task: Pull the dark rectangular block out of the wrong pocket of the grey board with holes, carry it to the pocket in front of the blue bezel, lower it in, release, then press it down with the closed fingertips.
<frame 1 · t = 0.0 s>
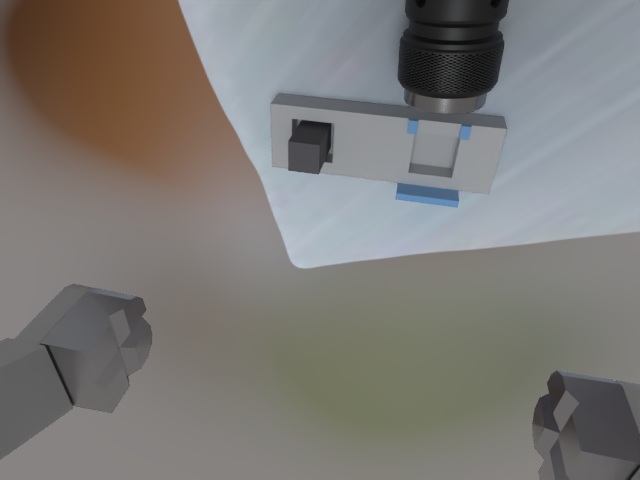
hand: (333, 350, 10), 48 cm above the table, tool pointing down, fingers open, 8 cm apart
dark rectangular block: (317, 132, 58), point 1 cm above the table, touching grey board with holes
grey board with holes: (383, 137, 58), on the table
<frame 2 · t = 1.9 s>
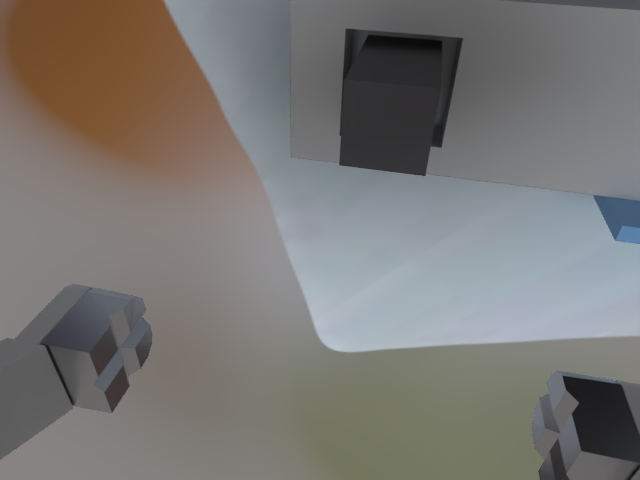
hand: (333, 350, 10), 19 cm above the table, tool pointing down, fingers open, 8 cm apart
dark rectangular block: (400, 74, 24), point 1 cm above the table, touching grey board with holes
grey board with holes: (565, 83, 23), on the table
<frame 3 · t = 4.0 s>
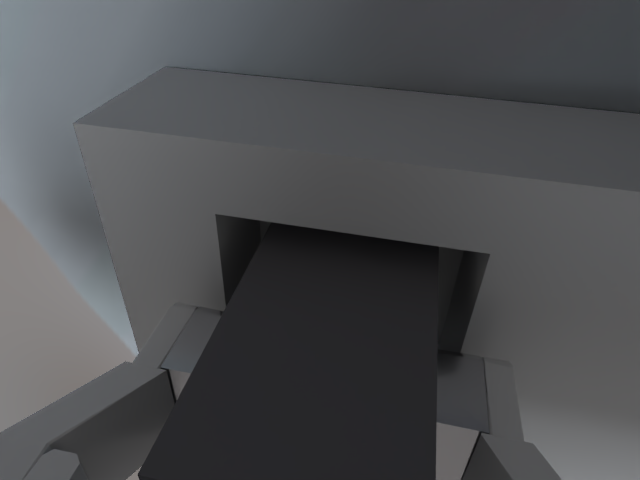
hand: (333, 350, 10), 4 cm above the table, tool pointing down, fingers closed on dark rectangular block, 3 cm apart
dark rectangular block: (356, 258, 12), point 1 cm above the table, touching grey board with holes, gripper
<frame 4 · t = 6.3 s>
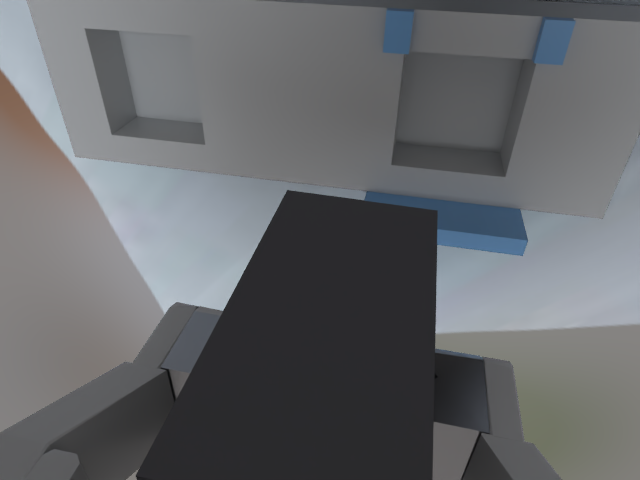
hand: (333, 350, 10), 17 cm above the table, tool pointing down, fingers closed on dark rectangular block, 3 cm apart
dark rectangular block: (355, 259, 12), point 14 cm above the table, touching gripper
grey board with holes: (331, 80, 24), on the table
when the fingers open (6 cm above the table, at t = 9.0 s): dark rectangular block drops 1 cm, resting on grey board with holes.
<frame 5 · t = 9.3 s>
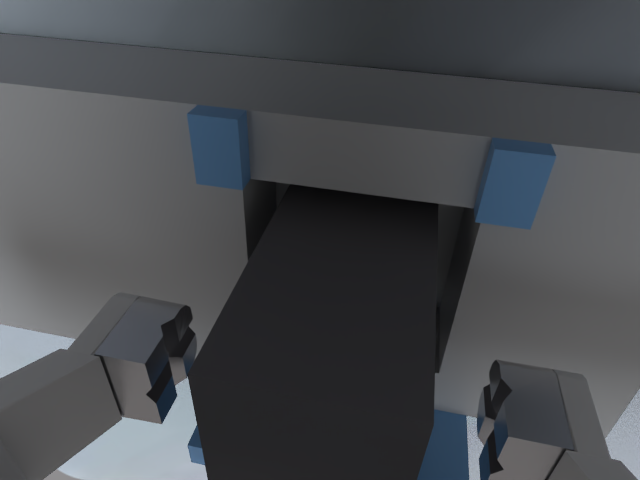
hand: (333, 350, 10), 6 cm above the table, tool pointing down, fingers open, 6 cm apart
dark rectangular block: (363, 225, 13), point 1 cm above the table, touching grey board with holes
grey board with holes: (177, 181, 15), on the table
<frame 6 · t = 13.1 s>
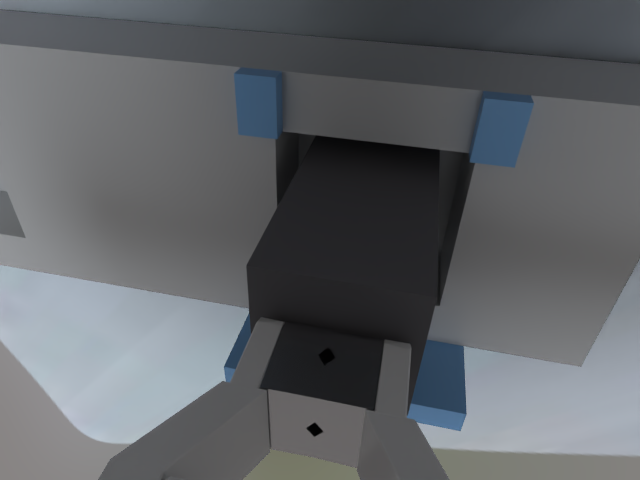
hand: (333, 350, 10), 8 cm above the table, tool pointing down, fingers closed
dark rectangular block: (373, 181, 15), point 1 cm above the table, touching grey board with holes
grey board with holes: (209, 147, 17), on the table
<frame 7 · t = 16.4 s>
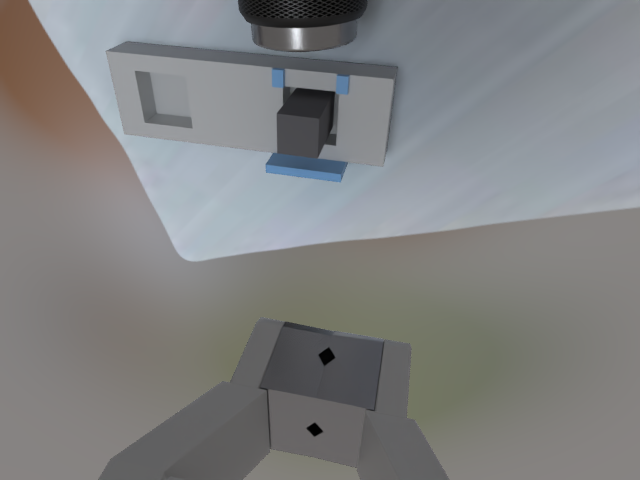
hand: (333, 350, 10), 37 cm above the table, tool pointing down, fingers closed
dark rectangular block: (315, 106, 45), point 1 cm above the table, touching grey board with holes
grey board with holes: (257, 96, 46), on the table
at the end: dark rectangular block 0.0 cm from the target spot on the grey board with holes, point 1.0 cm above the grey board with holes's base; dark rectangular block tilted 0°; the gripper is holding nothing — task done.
